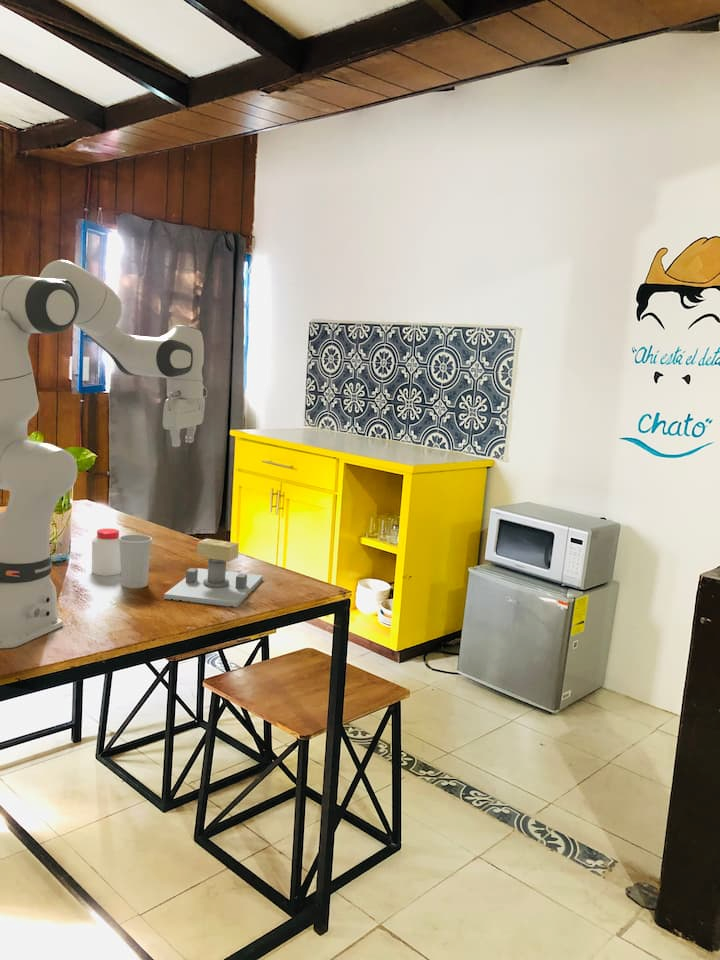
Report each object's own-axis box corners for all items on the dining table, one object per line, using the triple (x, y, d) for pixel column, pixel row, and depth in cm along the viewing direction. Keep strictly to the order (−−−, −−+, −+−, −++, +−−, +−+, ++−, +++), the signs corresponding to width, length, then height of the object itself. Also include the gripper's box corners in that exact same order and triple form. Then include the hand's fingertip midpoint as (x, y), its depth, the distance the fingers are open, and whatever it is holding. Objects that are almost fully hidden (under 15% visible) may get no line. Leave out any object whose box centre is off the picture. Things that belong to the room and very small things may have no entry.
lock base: (236, 607, 187) (238, 578, 186) (164, 598, 189) (165, 569, 188) (262, 579, 210) (264, 553, 209) (197, 572, 213) (198, 546, 211)
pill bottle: (103, 577, 202) (104, 535, 200) (85, 570, 207) (86, 529, 205) (128, 572, 208) (129, 531, 207) (110, 565, 213) (111, 526, 211)
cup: (134, 577, 204) (135, 532, 202) (157, 584, 200) (159, 538, 198) (110, 584, 197) (112, 537, 195) (134, 591, 193) (135, 543, 191)
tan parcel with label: (237, 561, 200) (238, 542, 199) (229, 565, 195) (230, 546, 194) (205, 555, 202) (206, 538, 201) (196, 560, 198) (197, 541, 197)
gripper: (182, 393, 190) (179, 450, 192) (209, 390, 210) (207, 441, 212) (157, 391, 191) (155, 447, 193) (186, 388, 211) (184, 439, 213)
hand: (182, 444), depth 203 cm, fingers open, 8 cm apart
